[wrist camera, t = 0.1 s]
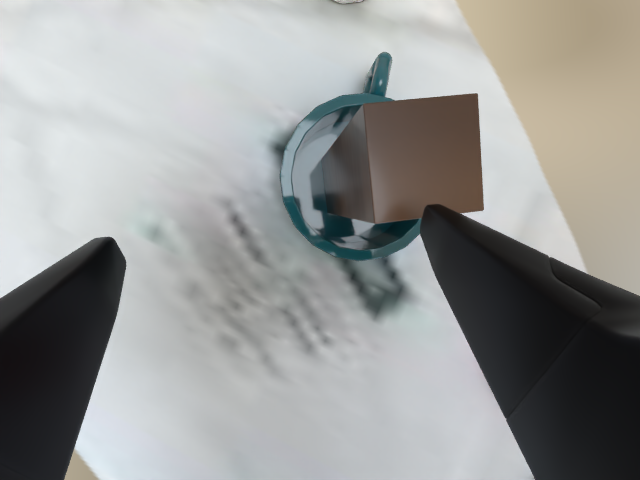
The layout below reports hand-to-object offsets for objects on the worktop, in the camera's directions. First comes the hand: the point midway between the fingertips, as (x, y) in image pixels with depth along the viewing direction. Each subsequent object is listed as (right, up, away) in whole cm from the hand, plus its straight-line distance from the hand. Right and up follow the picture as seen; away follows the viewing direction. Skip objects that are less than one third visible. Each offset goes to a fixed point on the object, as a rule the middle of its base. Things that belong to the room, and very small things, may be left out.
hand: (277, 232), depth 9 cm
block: (+4, +4, +14) cm, 15 cm away
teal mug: (+4, +5, +15) cm, 16 cm away
